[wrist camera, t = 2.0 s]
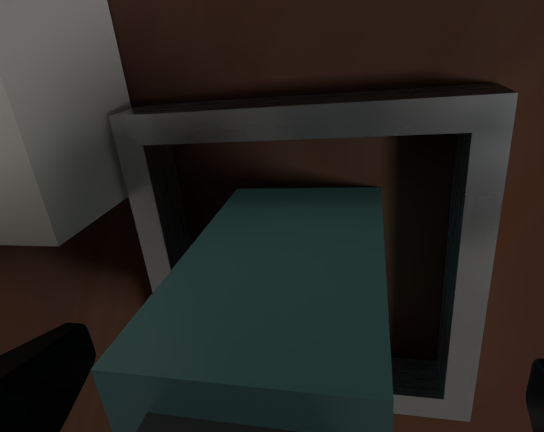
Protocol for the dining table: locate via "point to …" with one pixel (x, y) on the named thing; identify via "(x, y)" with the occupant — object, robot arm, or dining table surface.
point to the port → (57, 119)
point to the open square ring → (344, 124)
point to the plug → (263, 324)
